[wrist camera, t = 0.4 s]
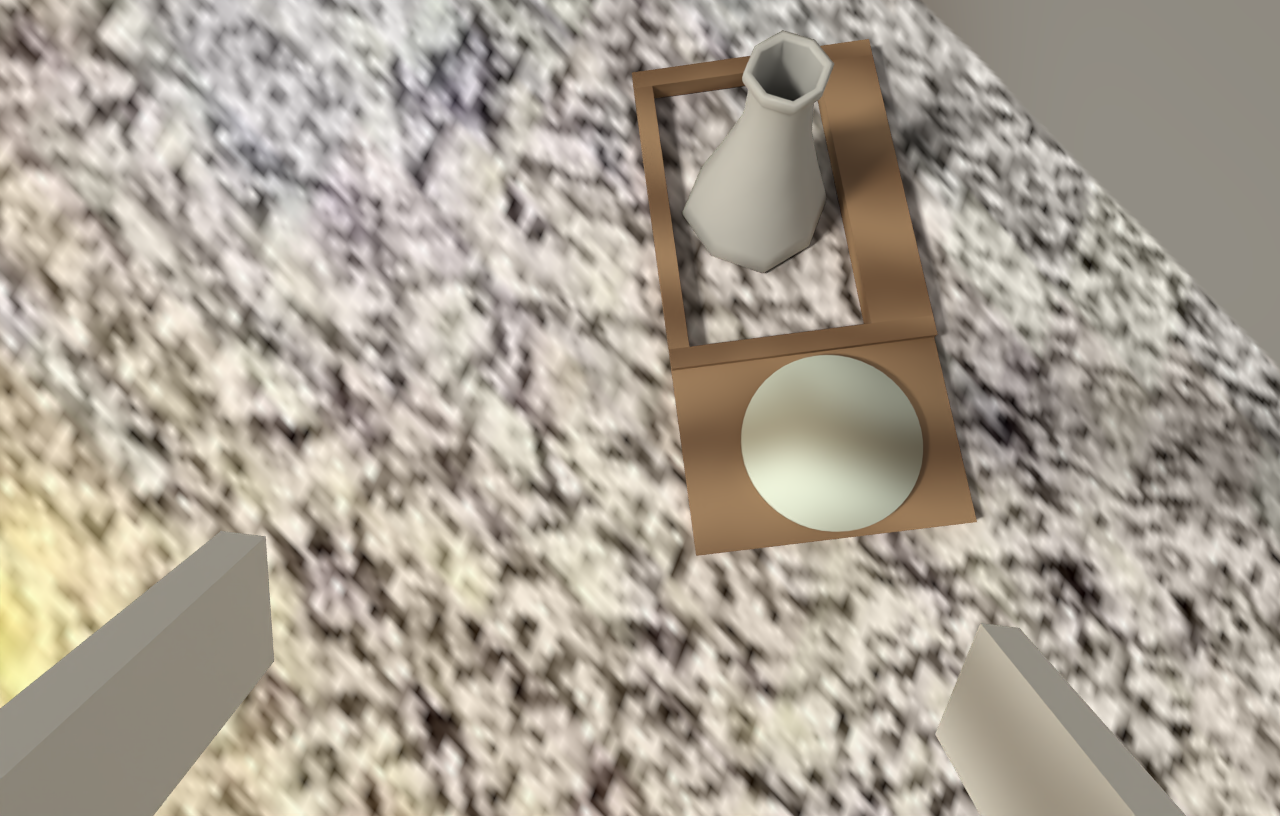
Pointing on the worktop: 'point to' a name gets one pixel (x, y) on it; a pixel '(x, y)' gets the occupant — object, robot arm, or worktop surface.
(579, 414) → the worktop surface
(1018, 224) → the worktop surface
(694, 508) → the board
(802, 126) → the flask
